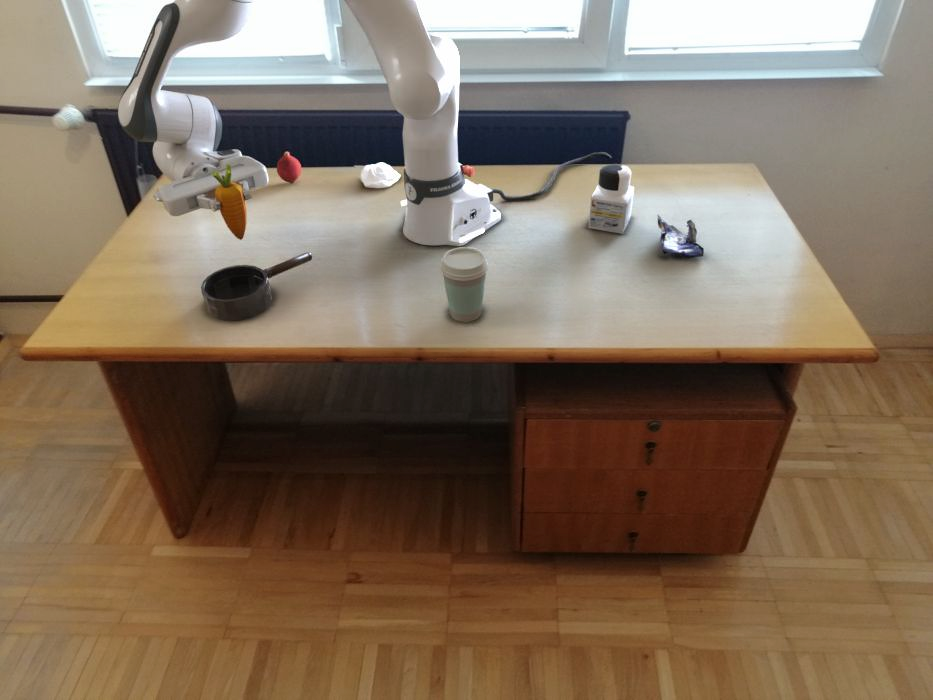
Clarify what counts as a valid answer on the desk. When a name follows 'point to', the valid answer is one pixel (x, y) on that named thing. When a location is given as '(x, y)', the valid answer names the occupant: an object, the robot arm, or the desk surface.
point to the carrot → (231, 203)
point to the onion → (288, 168)
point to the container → (612, 199)
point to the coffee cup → (464, 282)
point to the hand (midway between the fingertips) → (233, 201)
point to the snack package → (679, 240)
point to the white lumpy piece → (378, 175)
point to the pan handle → (288, 265)
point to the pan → (236, 292)
